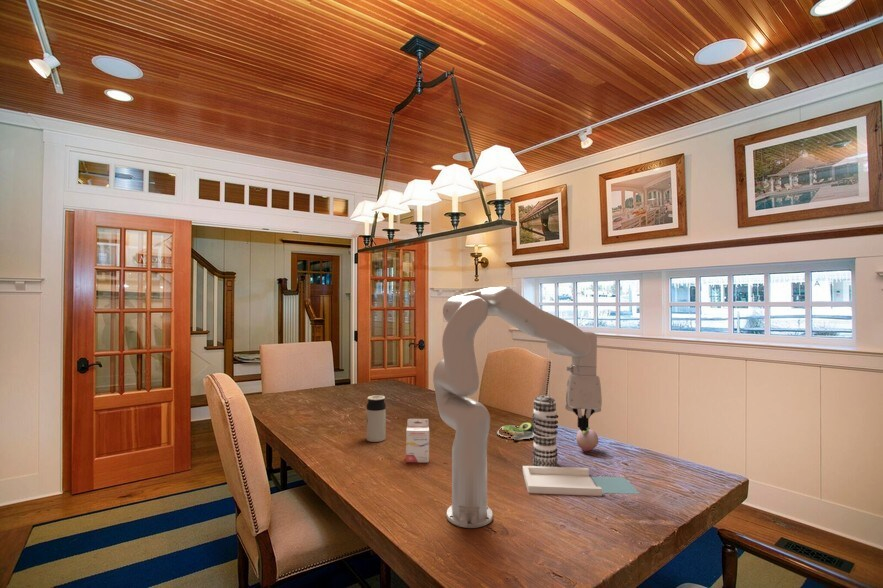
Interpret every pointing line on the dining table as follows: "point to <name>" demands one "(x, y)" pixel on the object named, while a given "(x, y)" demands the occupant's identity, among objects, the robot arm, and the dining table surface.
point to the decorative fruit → (587, 439)
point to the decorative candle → (545, 431)
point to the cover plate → (614, 485)
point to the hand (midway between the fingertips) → (582, 429)
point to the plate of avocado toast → (519, 431)
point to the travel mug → (376, 418)
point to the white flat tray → (560, 481)
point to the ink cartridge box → (417, 441)
